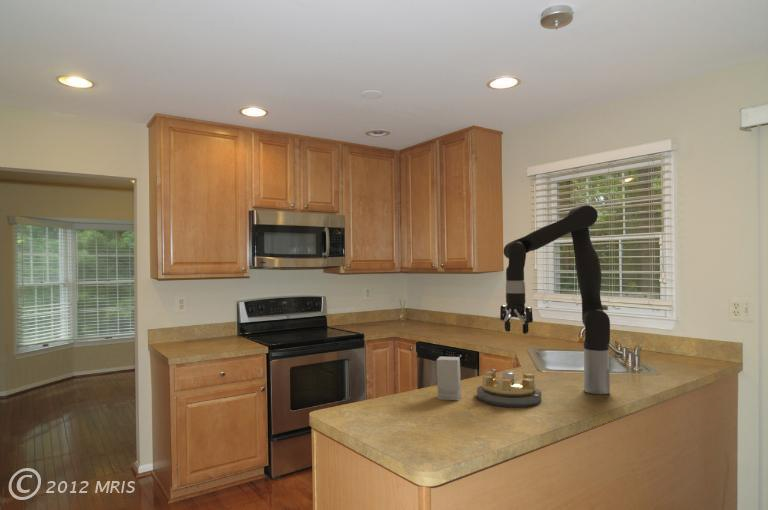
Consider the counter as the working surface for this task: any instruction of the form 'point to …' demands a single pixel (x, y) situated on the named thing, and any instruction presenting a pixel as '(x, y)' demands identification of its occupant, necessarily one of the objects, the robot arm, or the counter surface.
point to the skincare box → (448, 378)
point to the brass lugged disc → (508, 384)
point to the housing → (509, 399)
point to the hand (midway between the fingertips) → (516, 332)
